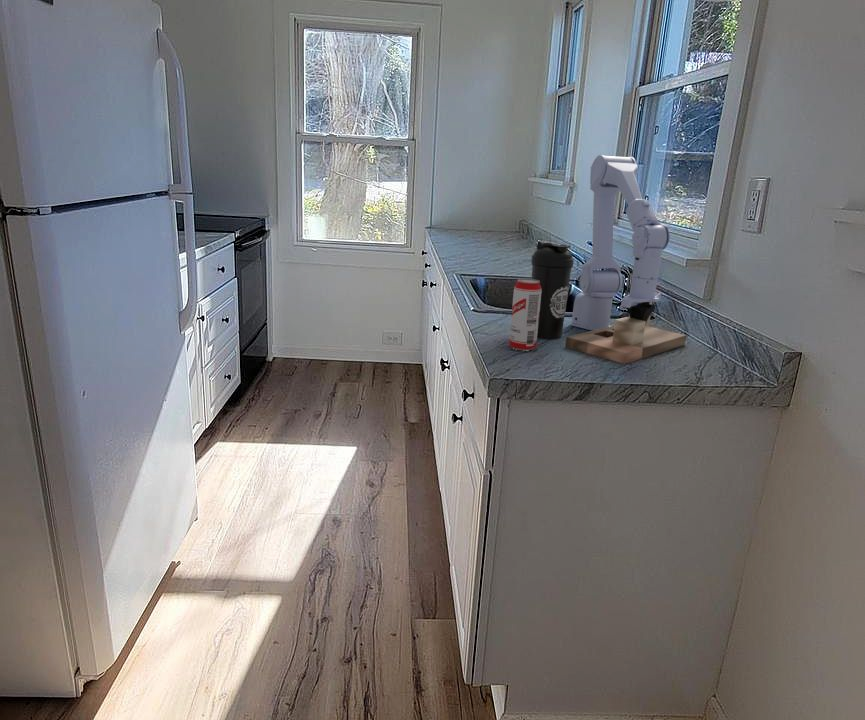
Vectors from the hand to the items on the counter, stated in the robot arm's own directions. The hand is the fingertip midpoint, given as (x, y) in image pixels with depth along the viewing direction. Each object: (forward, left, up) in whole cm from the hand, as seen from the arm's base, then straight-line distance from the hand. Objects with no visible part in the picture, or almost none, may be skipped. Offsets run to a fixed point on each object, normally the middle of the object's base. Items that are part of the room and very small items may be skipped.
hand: (636, 333), depth 155 cm
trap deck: (-3, +1, -4) cm, 5 cm away
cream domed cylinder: (-12, +22, -4) cm, 25 cm away
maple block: (0, -4, -1) cm, 4 cm away
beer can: (-16, -23, -4) cm, 28 cm away
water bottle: (-21, -8, -4) cm, 23 cm away
